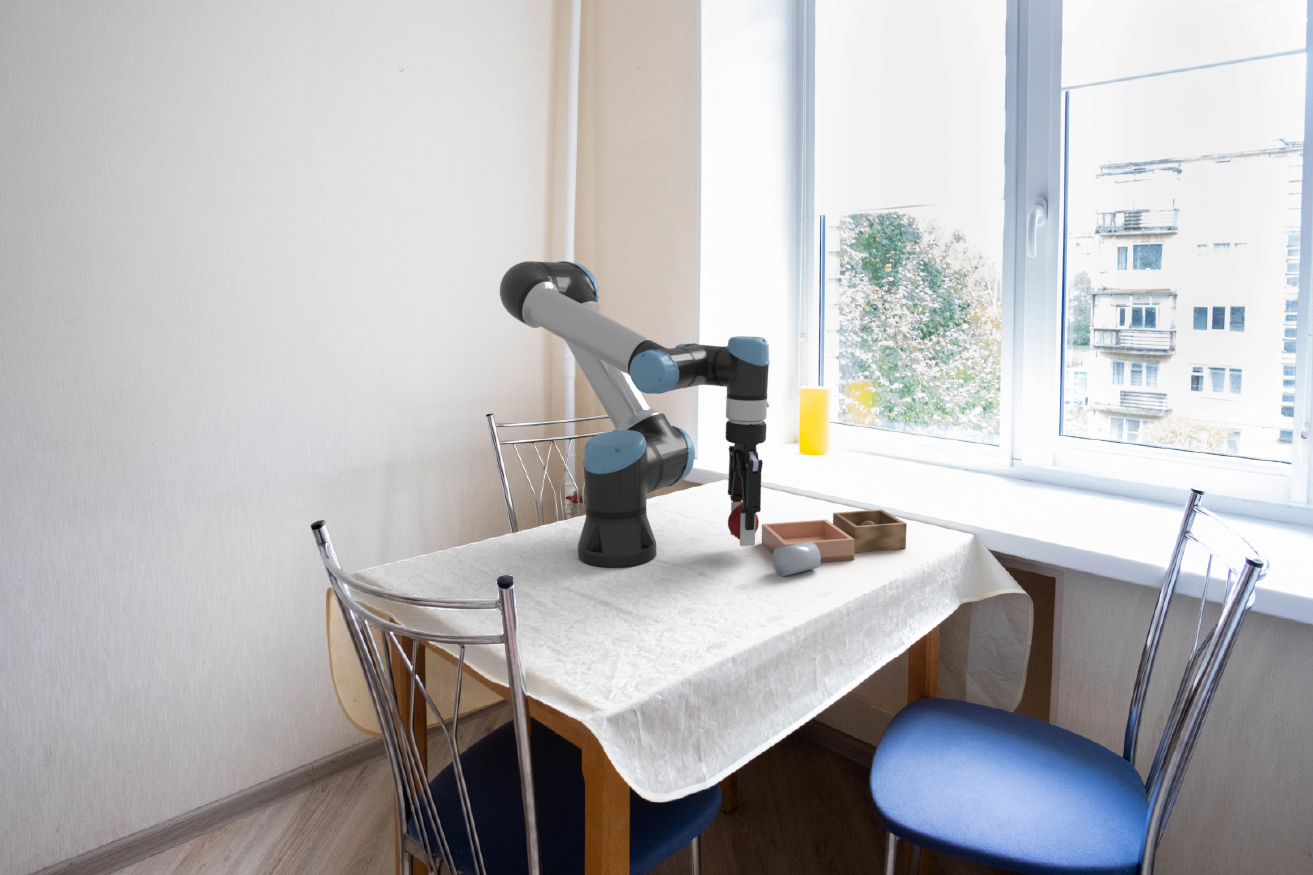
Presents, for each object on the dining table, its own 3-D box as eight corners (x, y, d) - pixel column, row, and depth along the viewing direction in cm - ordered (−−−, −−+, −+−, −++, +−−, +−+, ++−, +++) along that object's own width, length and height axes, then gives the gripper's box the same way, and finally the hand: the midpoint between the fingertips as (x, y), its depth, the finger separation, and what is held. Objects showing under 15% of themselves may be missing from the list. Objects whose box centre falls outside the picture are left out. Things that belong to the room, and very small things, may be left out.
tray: (784, 565, 150) (785, 544, 150) (761, 543, 164) (761, 524, 163) (854, 559, 153) (854, 539, 152) (825, 538, 166) (826, 519, 165)
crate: (854, 552, 157) (855, 527, 156) (832, 536, 167) (833, 512, 167) (905, 548, 159) (906, 523, 158) (880, 532, 169) (881, 509, 168)
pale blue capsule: (790, 579, 143) (790, 552, 142) (771, 571, 147) (772, 544, 147) (820, 572, 147) (820, 545, 146) (801, 564, 151) (802, 538, 150)
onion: (740, 547, 153) (741, 506, 151) (721, 539, 157) (722, 499, 156) (764, 542, 156) (765, 502, 154) (744, 534, 161) (745, 495, 159)
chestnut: (863, 541, 161) (864, 524, 160) (856, 536, 165) (856, 519, 164) (880, 540, 162) (881, 522, 161) (872, 535, 165) (873, 517, 165)
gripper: (782, 429, 144) (777, 554, 148) (750, 411, 162) (746, 524, 166) (741, 430, 142) (737, 557, 147) (713, 412, 160) (710, 525, 165)
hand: (742, 539), depth 157 cm, fingers closed on onion, 6 cm apart
